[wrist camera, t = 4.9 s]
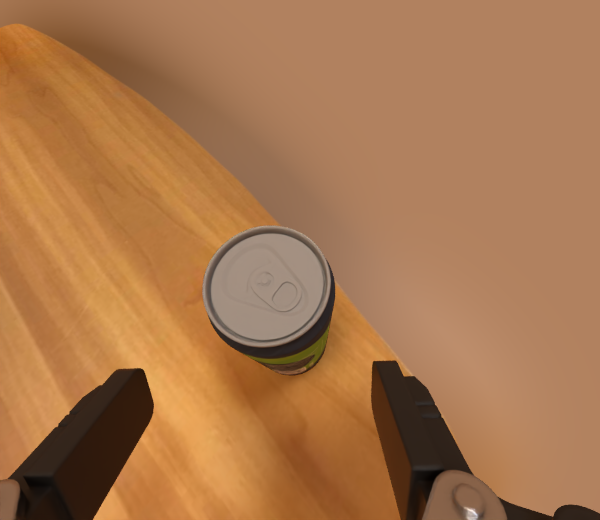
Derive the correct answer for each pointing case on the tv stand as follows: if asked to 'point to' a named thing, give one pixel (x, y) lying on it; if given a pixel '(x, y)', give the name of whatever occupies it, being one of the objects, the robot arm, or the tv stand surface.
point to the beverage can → (271, 297)
